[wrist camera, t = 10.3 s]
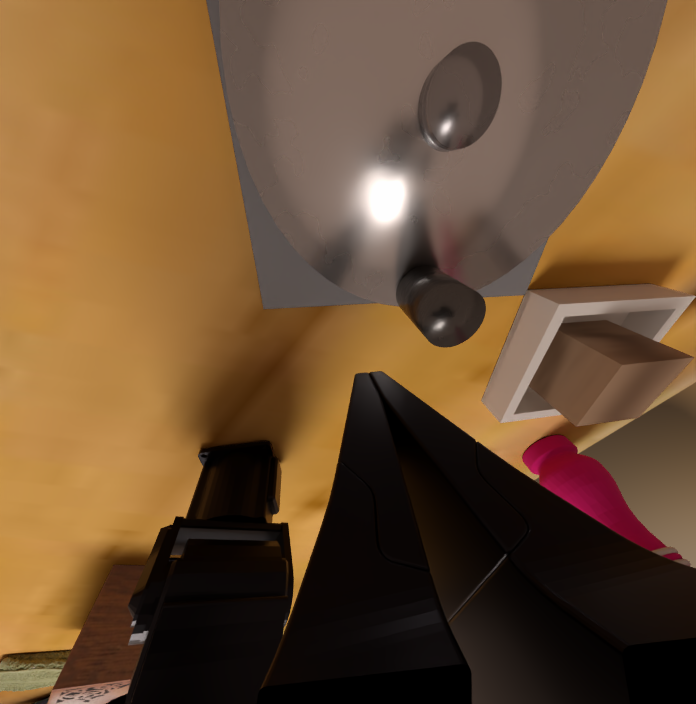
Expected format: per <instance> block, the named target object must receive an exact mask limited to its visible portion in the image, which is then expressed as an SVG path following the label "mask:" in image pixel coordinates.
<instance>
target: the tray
mask: <svg viewBox="0 0 696 704" xmlns="http://www.w3.org/2000/svg"><path fill="white" fill-rule="evenodd" d="M695 297H696V296H694V295H691V294H687V293H683V292H680V291H676V290H672V289H668V288H665V287H661V286H657V285H654V284H633V285H613V286H594V287H574V288H555V289H535V290H527V291H526V294H525V295H524V298H523V300H522V303H521V305H520V308H519V310H518V312H517V315H516V317H515V320H514V322H513V325H512V327H511V330H510V332H509V334H508V337H507V339H506V342H505V344H504V347H503V349H502V351H501V354H500V356H499V359H498V361H497V364H496V366H495V369H494V371H493V373H492V376H491V378H490V381H489V383H488V386H487V388H486V391H485V393H484V395H483V398H482V400H481V401H482V402H483V404H484V405H485V406H486V407H487V408H488V409H489V411H490V412H491V413H492V414H493V415H494V416H495V418H496V419H497V420H498V421H499V422H500V423H504V422H512V421H519V420H526V419H534V418H541V417H549V416H556V415H562V414H561V413H560V412H558V411H557V410H556V409H555V408H554V407H553V406H551V405H550V404H549V403H548V402H547V401H546V400H544V399H543V398H542V397H541V396H540V395H539V394H537V393H536V392H535V391H534V390H533V389H532V388H530V387H529V384H530V382H531V380H532V378H533V376H534V374H535V373H536V371H537V369H538V367H539V365H540V363H541V361H542V359H543V357H544V355H545V354H546V352H547V350H548V348H549V346H550V344H551V342H552V340H553V338H554V336H555V335H556V333H557V331H558V329H559V327H560V325H561V323H571V322H585V321H599V320H608V321H610V322H612V323H615V324H617V325H619V326H622V327H624V328H626V329H629V330H631V331H633V332H636V333H638V334H640V335H643V336H645V337H647V338H650V339H652V340H654V341H657V342H660V340H661V339H662V338H663V337H664V335H665V334H666V333H667V332H668V330H669V329H670V328H671V327H672V325H673V324H674V323H675V322H676V320H677V319H678V318H679V317H680V315H681V314H682V313H683V312H684V310H685V309H686V308H687V307H688V305H689V304H690V303H691V302H692V300H693V299H694V298H695Z"/></svg>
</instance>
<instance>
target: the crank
mask: <svg viewBox="0 0 696 704" xmlns="http://www.w3.org/2000/svg"><path fill="white" fill-rule="evenodd" d="M666 4H667V0H219V14H220V41H221V51H222V59H223V67H224V74H225V82H226V89H227V95H228V99H229V104H230V108H231V113H232V117H233V121H234V126H235V130H236V134H237V137H238V140H239V143H240V146H241V149H242V152H243V155H244V158H245V161H246V164H247V167H248V170H249V172H250V175H251V177H252V179H253V181H254V184H255V186H256V188H257V190H258V192H259V195H260V197H261V199H262V201H263V203H264V205H265V206H266V208H267V210H268V211H269V213H270V215H271V216H272V218H273V220H274V222H275V223H276V225H277V227H278V228H279V229H280V231H281V232H282V233H283V235H284V236H285V237H286V239H287V240H288V241H289V243H290V244H291V245H292V247H293V248H294V249H295V250H296V251H297V252H298V253H299V254H300V255H301V256H302V258H303V259H304V260H305V261H306V262H307V263H308V264H309V265H310V266H311V267H312V268H314V269H315V270H316V271H317V272H319V273H320V274H321V275H322V276H324V277H325V278H326V279H327V280H329V281H330V282H332V283H334V284H335V285H337V286H338V287H340V288H342V289H343V290H345V291H347V292H349V293H352V294H354V295H356V296H358V297H361V298H363V299H366V300H370V301H373V302H377V303H380V304H386V305H393V306H399V307H400V308H401V309H402V310H403V311H404V313H405V314H406V315H407V316H408V317H409V318H410V320H411V321H412V322H413V323H414V324H415V325H416V327H417V328H418V329H419V330H420V331H421V332H422V334H423V335H424V336H425V337H426V338H427V339H428V341H429V342H430V343H432V344H433V345H435V346H438V347H452V346H456V345H458V344H460V343H463V342H464V341H466V340H467V339H469V338H470V337H471V336H472V335H473V334H474V333H475V332H476V331H477V330H478V328H479V327H480V325H481V324H482V322H483V319H484V316H485V311H486V306H485V301H484V299H483V297H482V296H481V294H479V293H478V292H477V290H479V289H481V288H483V287H485V286H487V285H489V284H491V283H492V282H494V281H495V280H497V279H499V278H500V277H502V276H503V275H505V274H507V273H508V272H509V271H511V270H512V269H513V268H515V267H516V266H517V265H519V264H520V263H521V262H523V261H524V260H525V259H526V258H527V257H529V256H530V255H531V254H532V253H533V252H534V251H535V250H536V249H537V248H538V247H540V246H541V245H542V244H543V243H544V242H545V241H546V240H547V239H548V238H549V236H550V235H551V234H552V233H553V232H554V231H555V230H556V229H557V228H558V227H559V226H560V225H561V224H562V222H563V221H564V220H565V219H566V217H567V216H568V215H569V214H570V212H571V211H572V210H573V209H574V207H575V206H576V205H577V204H578V202H579V201H580V200H581V198H582V197H583V195H584V194H585V192H586V191H587V189H588V188H589V186H590V185H591V184H592V182H593V181H594V179H595V178H596V176H597V174H598V173H599V171H600V169H601V168H602V166H603V164H604V163H605V161H606V159H607V157H608V156H609V154H610V152H611V151H612V149H613V147H614V145H615V143H616V141H617V139H618V137H619V135H620V133H621V131H622V129H623V127H624V125H625V123H626V121H627V119H628V117H629V114H630V112H631V110H632V107H633V105H634V102H635V100H636V98H637V95H638V93H639V90H640V88H641V86H642V83H643V80H644V77H645V75H646V72H647V69H648V66H649V63H650V60H651V57H652V54H653V51H654V48H655V45H656V42H657V38H658V34H659V30H660V27H661V23H662V19H663V15H664V11H665V8H666Z"/></svg>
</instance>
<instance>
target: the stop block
mask: <svg viewBox="0 0 696 704" xmlns="http://www.w3.org/2000/svg"><path fill="white" fill-rule="evenodd" d="M693 358H694V357H692V356H690V355H687V354H685V353H683V352H680V351H678V350H676V349H673V348H671V347H668V346H666V345H664V344H661V343H659V342H657V341H654V340H652V339H650V338H647V337H645V336H643V335H640V334H638V333H636V332H633V331H631V330H629V329H626V328H624V327H622V326H619V325H617V324H615V323H612V322H610V321H608V320H599V321H585V322H571V323H561V325H560V327H559V329H558V331H557V333H556V335H555V336H554V338H553V340H552V342H551V344H550V346H549V348H548V350H547V352H546V354H545V355H544V357H543V359H542V361H541V363H540V365H539V367H538V369H537V371H536V373H535V374H534V376H533V378H532V380H531V382H530V384H529V387H530V388H532V389H533V390H534V391H535V392H536V393H537V394H539V395H540V396H541V397H542V398H543V399H544V400H546V401H547V402H548V403H549V404H550V405H551V406H553V407H554V408H555V409H556V410H557V411H558V412H560V413H561V414H562V415H563V416H564V417H565V418H567V419H568V420H569V421H570V422H571V423H572V424H574V425H575V426H576V427H577V426H584V425H591V424H598V423H605V422H612V421H619V420H626V419H633V418H639V417H640V416H641V415H642V413H643V412H644V411H645V410H646V409H647V408H648V407H649V406H650V405H651V404H652V403H653V402H654V400H655V399H656V398H657V397H658V396H659V395H660V394H661V393H662V392H663V391H664V390H665V389H666V387H667V386H668V385H669V384H670V383H671V382H672V381H673V380H674V379H675V378H676V377H677V376H678V374H679V373H680V372H681V371H682V370H683V369H684V368H685V367H686V366H687V365H688V364H689V363H690V361H691V360H692V359H693Z"/></svg>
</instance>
